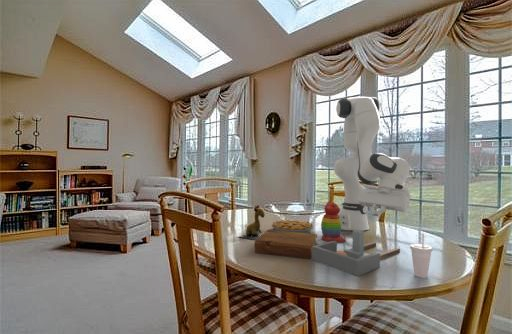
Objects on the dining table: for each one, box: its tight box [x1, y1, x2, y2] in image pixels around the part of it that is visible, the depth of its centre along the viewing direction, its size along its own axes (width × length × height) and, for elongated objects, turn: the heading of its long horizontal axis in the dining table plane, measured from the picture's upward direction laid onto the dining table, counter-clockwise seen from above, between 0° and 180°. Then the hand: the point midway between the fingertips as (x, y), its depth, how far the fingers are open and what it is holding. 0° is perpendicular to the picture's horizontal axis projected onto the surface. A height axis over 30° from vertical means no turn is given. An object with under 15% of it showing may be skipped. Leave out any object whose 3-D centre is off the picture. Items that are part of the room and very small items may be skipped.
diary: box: [254, 229, 318, 260], centre depth 122 cm, size 23×19×6 cm
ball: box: [336, 250, 347, 256], centre depth 104 cm, size 5×5×5 cm
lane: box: [342, 241, 401, 261], centre depth 116 cm, size 12×22×2 cm, turn 126°
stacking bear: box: [320, 201, 346, 243], centre depth 137 cm, size 11×10×18 cm
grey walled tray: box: [311, 241, 381, 277], centre depth 105 cm, size 20×13×5 cm, turn 36°
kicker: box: [343, 230, 370, 259], centre depth 110 cm, size 8×9×10 cm
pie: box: [271, 219, 314, 234], centre depth 153 cm, size 22×22×5 cm
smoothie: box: [409, 232, 433, 279], centre depth 94 cm, size 6×6×14 cm
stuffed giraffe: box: [242, 204, 266, 241], centre depth 146 cm, size 16×18×16 cm
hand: (375, 215), depth 117 cm, fingers closed
